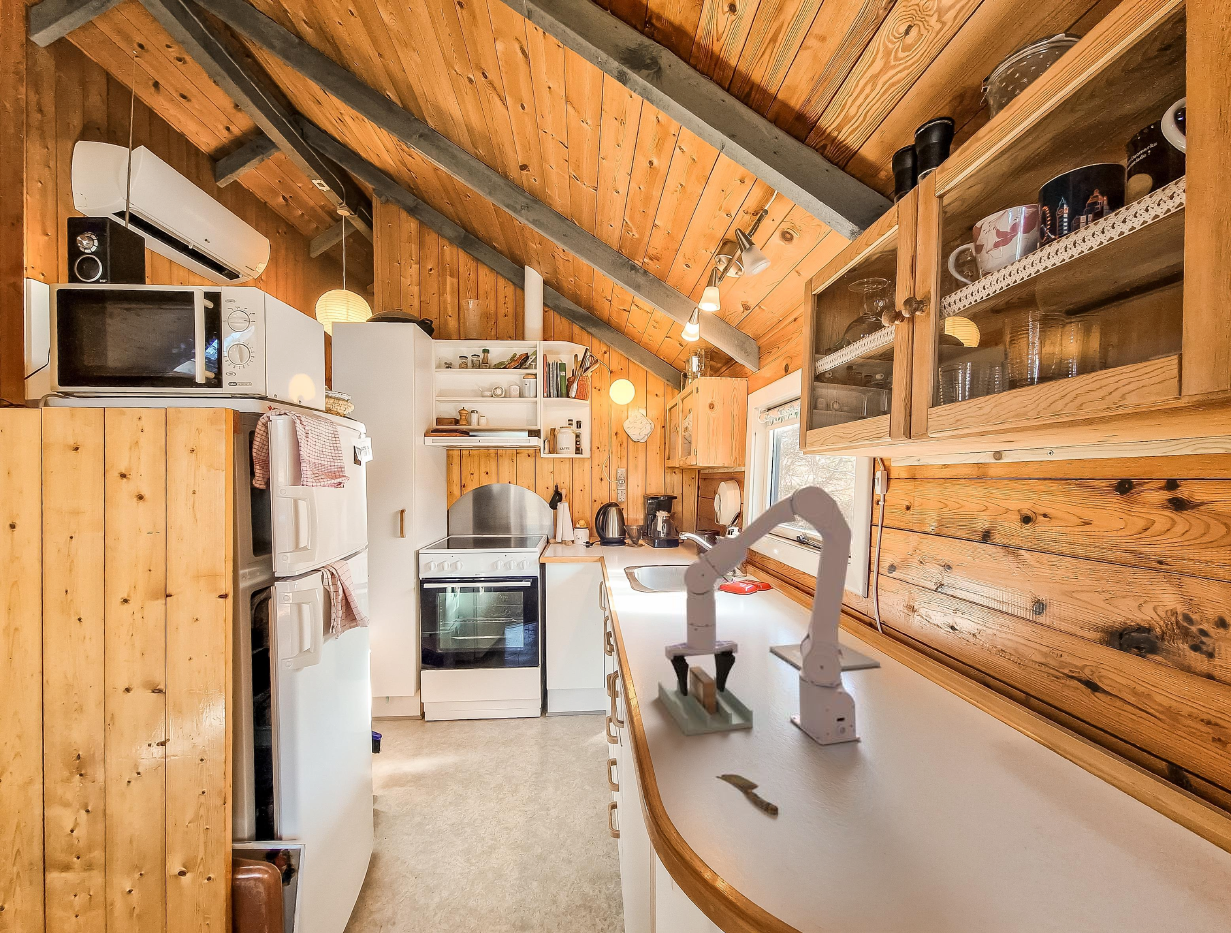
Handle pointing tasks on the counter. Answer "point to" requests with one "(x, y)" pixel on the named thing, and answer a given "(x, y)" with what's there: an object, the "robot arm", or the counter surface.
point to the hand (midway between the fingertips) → (702, 692)
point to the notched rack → (697, 719)
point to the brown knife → (749, 791)
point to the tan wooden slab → (703, 689)
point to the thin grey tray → (845, 654)
